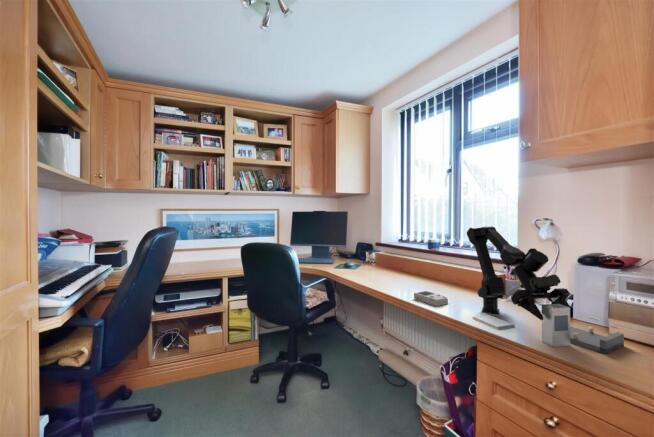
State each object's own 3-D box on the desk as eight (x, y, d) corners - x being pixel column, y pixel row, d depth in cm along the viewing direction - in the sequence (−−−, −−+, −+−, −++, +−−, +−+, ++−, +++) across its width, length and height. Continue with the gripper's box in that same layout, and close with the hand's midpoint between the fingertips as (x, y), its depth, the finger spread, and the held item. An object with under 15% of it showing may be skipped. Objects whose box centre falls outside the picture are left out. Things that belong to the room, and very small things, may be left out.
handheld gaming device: (437, 307, 134) (437, 299, 134) (413, 299, 147) (413, 292, 147) (449, 304, 138) (449, 297, 138) (425, 297, 151) (425, 290, 151)
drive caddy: (541, 341, 96) (541, 304, 96) (559, 340, 97) (558, 303, 97) (552, 346, 92) (552, 308, 92) (570, 345, 93) (570, 307, 93)
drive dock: (547, 334, 101) (547, 323, 101) (565, 328, 106) (565, 318, 106) (606, 354, 87) (606, 341, 87) (623, 346, 92) (623, 333, 92)
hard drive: (514, 324, 108) (488, 313, 120) (497, 326, 106) (472, 315, 118) (514, 328, 108) (488, 317, 120) (497, 331, 106) (472, 319, 118)
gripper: (516, 267, 99) (543, 308, 88) (565, 265, 101) (598, 306, 90) (500, 284, 107) (524, 324, 96) (546, 282, 109) (574, 321, 98)
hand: (555, 319), depth 95 cm, fingers open, 9 cm apart
